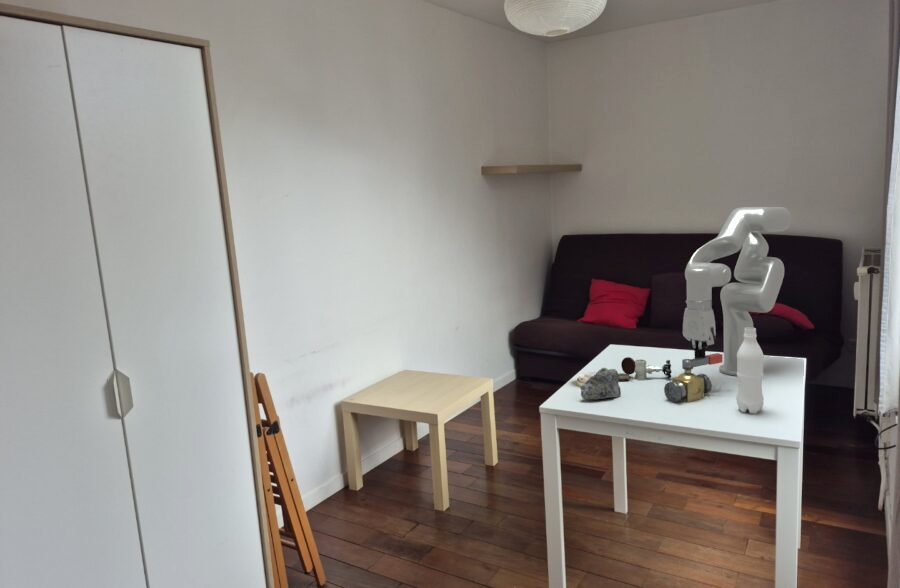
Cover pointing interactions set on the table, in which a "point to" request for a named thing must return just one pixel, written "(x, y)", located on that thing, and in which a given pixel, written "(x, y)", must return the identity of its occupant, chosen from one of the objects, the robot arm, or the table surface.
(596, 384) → the mineral rock
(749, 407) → the water bottle
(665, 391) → the pipe valve
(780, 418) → the table surface
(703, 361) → the valve lever
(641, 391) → the table surface
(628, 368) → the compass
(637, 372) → the valve
